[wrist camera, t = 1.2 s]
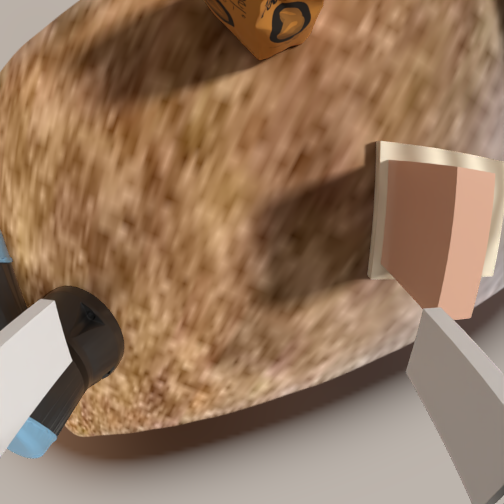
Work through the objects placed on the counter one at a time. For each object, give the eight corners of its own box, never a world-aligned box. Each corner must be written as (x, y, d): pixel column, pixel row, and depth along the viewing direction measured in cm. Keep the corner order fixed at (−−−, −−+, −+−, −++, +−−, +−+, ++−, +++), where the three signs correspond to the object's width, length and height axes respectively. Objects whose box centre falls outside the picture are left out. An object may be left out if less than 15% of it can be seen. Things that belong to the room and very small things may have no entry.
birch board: (367, 274, 37) (370, 279, 35) (376, 141, 32) (380, 140, 31) (487, 272, 36) (492, 276, 35) (500, 161, 31) (507, 162, 30)
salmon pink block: (380, 263, 35) (433, 321, 21) (388, 159, 31) (457, 166, 18) (410, 263, 35) (471, 317, 21) (420, 163, 31) (496, 173, 18)
